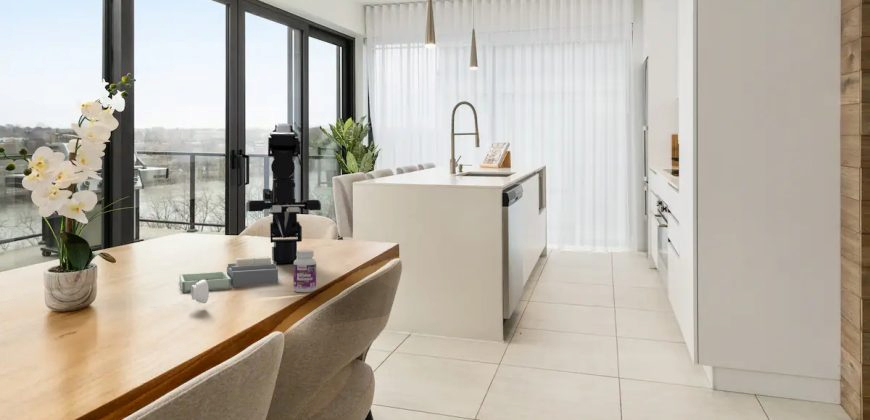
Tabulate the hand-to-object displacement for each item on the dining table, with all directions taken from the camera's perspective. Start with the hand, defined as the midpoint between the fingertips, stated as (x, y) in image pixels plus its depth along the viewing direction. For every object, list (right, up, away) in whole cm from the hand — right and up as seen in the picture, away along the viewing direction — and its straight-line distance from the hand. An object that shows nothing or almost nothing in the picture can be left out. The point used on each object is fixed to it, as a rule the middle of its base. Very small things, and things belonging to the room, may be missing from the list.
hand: (284, 237), depth 150 cm
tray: (-18, -12, -9) cm, 23 cm away
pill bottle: (+9, -12, -15) cm, 22 cm away
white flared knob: (-10, -13, -30) cm, 34 cm away
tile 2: (-5, -8, -3) cm, 10 cm away
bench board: (-8, -12, -4) cm, 14 cm away
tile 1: (-9, -8, -5) cm, 13 cm away
